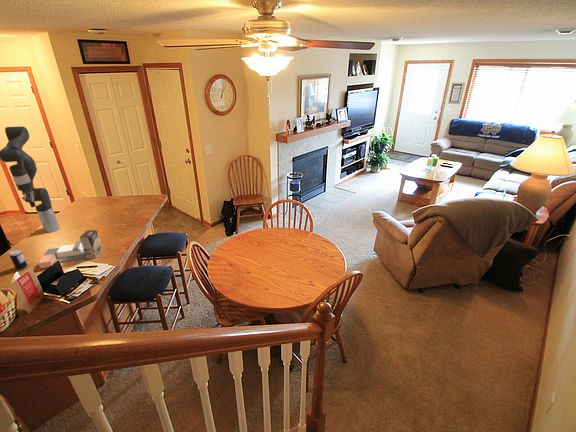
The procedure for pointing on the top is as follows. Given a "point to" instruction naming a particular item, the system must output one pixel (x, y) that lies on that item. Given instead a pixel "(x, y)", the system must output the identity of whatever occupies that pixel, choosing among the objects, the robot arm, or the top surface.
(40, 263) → the pink block
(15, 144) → the robot arm
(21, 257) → the beverage can
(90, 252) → the coffee box
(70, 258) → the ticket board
